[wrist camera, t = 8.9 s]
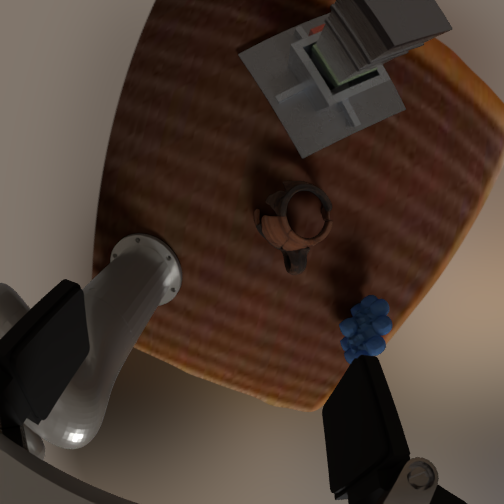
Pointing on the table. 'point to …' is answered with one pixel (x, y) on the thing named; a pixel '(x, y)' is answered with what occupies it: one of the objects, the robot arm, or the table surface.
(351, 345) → the blue lumpy cluster
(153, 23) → the table surface
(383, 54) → the column
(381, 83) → the stand base
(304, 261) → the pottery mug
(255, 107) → the table surface
